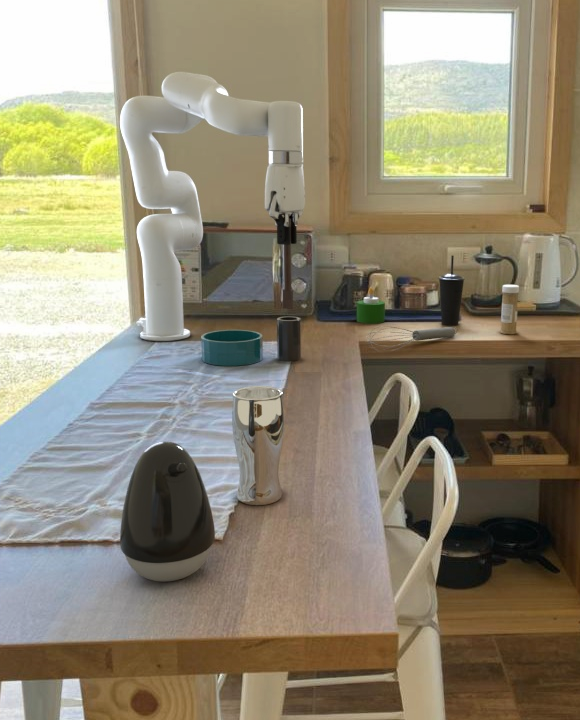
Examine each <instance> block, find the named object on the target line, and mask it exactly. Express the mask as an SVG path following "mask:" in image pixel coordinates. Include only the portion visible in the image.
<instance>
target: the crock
mask: <svg viewBox="0 0 580 720" xmlns="http://www.w3.org/2000/svg"><path fill="white" fill-rule="evenodd" d="M276 352H277V354H276V355H277V358H276V359H277V360H278V361H280V362H287V363H289V362H298V361H300V360H301V359H302V318H301V317H300V316H299V317H298V316H280V317H277V318H276Z"/></svg>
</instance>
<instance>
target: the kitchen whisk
mask: <svg viewBox="0 0 580 720" xmlns="http://www.w3.org/2000/svg"><path fill="white" fill-rule="evenodd" d="M381 327H382V328H381ZM383 327H385V328H383ZM377 328H381V329H379V330H377V331H373V330H375V329H377ZM388 328H392V326H391V325H390V326H389V325H382V326H381V325H380V326H376V327H374V328H373V329H371V330H370V332H369V333H368V334H367V336H366V338H367V339H368V340H367V341H366V344H368V346H369V348H370V350H373V351H377V352H379V353H382V351H381V350H379V349H376V348H375V347H374V346H373V344H374V345H377V346H379V347H383V345H382V344H381V345H380V344H378V343H381V342H382V343H383V340H379V341H377V343H376V342H375V341H374V340H378V339H385V336H382V337H376V338H374V336H375V335H376V334H378V333H379V332H381V331H384V330H386V329H388ZM393 329H397V330H399V329H400V330H404V331H407V332H404V334H401V332H398V331H391V333H393V334H395V337H402V338H398V340H401V339H403V336H405V335H410V338H411V339H409V340H407V341H403V342H401V343H399V344H395V345H392V346H391V345H384V348H383V349H382V350H384V351H385V350H388V349H391V351H396V350H399V349H402V348H403V347H405V346H407V345H409V344H411V343H412V342H414V341H415V342H418V341H426V340H436V339H444V338H451V337H454V336H455V335H456V334H457V333H458V331H459V329H458V328H457V327H456V326H453V327H451V326H446V327H437V328H427V329H426V328H425V329H417V330H409V329H407V328H402V327H397V326H393ZM372 331H373V332H372ZM410 332H411V333H410ZM371 334H372V337H370V339H369V337H368V336H370V335H371ZM396 334H398V335H396ZM391 337H392V339H391V341H395V340H397V338H394V339H393V335H389V336H386V338H391ZM408 338H409V336H405V337H404V339H408ZM389 341H390V339H387V340H385V342H389ZM404 344H405V345H404ZM401 345H403V346H401ZM371 346H372V347H371ZM398 346H400V347H398ZM385 347H387V348H385ZM394 347H398V348H395V349H392V348H394Z"/></svg>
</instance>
